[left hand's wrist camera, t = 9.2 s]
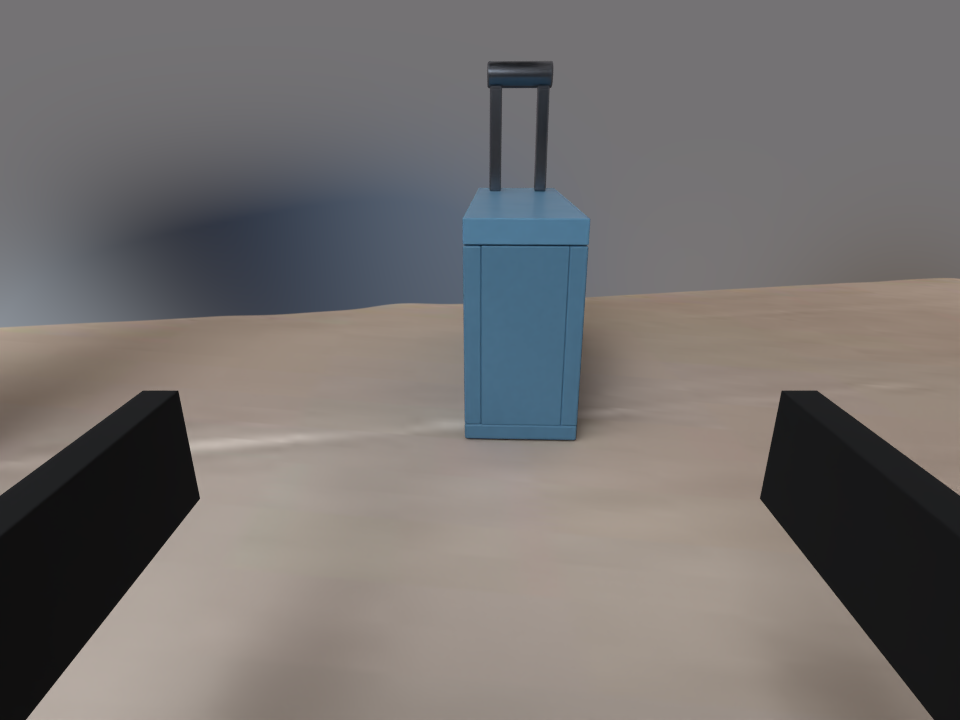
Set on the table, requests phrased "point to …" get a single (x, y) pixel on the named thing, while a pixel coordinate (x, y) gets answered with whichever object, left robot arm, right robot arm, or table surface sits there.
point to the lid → (522, 209)
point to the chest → (523, 339)
